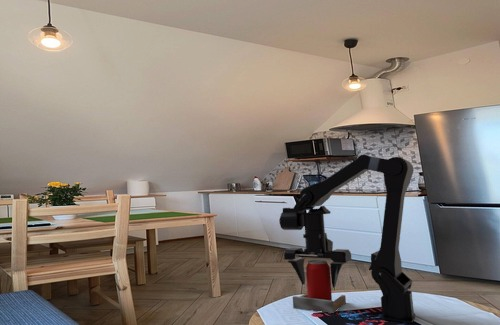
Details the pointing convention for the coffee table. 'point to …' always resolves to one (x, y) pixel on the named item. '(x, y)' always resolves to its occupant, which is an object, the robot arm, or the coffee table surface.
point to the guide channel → (318, 303)
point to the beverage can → (318, 280)
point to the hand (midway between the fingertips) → (318, 285)
